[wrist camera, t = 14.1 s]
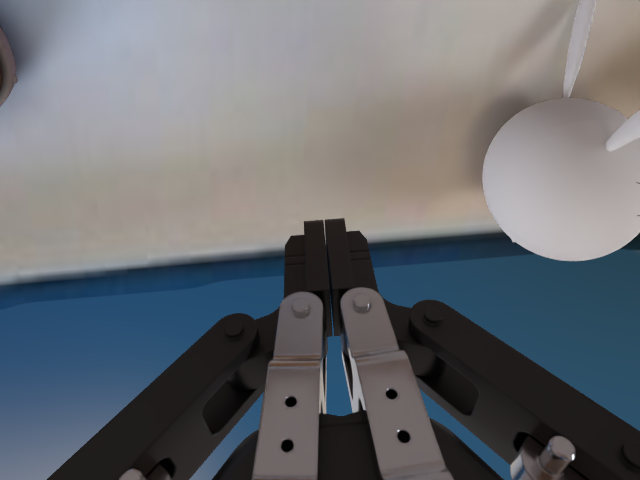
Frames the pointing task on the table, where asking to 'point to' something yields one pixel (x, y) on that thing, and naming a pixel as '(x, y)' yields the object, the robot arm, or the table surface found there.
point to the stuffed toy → (567, 170)
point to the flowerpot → (6, 68)
